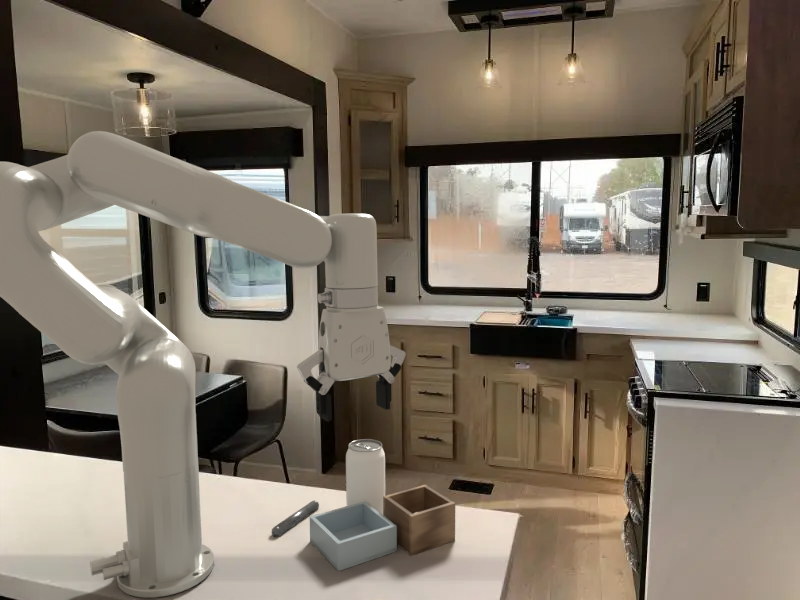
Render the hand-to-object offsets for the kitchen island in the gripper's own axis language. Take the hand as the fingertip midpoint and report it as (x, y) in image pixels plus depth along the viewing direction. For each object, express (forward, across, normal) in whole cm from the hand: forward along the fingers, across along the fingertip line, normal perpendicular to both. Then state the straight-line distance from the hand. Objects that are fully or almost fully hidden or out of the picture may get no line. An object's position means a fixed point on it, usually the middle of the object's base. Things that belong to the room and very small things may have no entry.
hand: (355, 413), depth 90 cm
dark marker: (+20, -6, +11) cm, 24 cm away
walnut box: (+20, +9, -4) cm, 22 cm away
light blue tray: (+20, -1, -1) cm, 20 cm away
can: (+20, +5, +7) cm, 22 cm away
